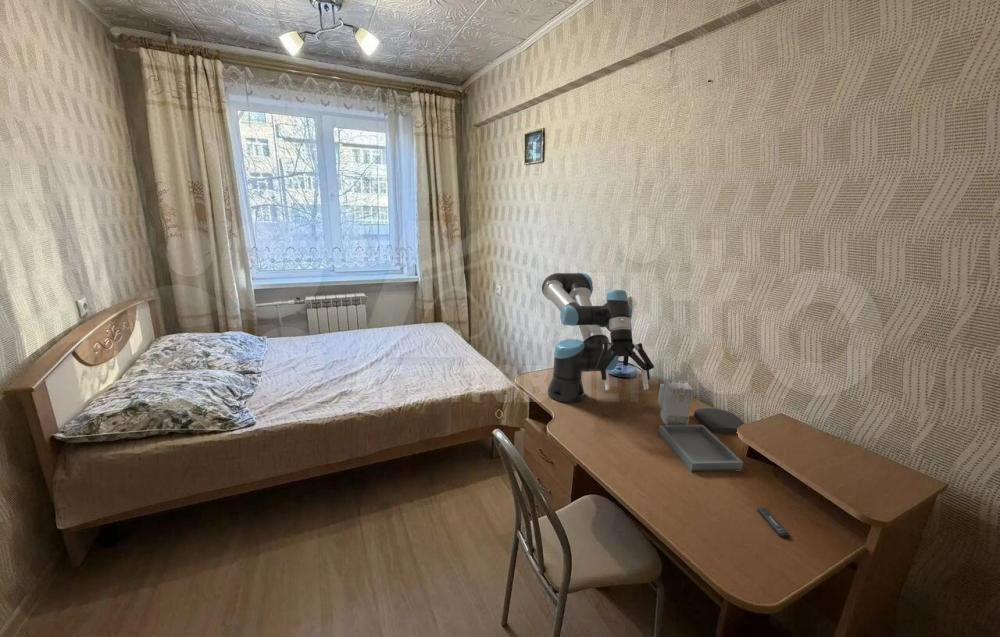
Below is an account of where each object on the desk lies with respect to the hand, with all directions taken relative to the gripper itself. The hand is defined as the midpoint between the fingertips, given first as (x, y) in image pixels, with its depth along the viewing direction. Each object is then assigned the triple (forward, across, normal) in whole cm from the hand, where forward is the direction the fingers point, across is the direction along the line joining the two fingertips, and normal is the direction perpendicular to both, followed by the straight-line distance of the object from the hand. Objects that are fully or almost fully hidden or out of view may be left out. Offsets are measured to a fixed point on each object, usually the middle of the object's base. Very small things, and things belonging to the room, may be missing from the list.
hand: (627, 389), depth 141 cm
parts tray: (+20, +20, -2) cm, 29 cm away
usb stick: (+39, +24, -28) cm, 53 cm away
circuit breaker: (+8, +21, +16) cm, 28 cm away
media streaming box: (+11, +37, +13) cm, 41 cm away
